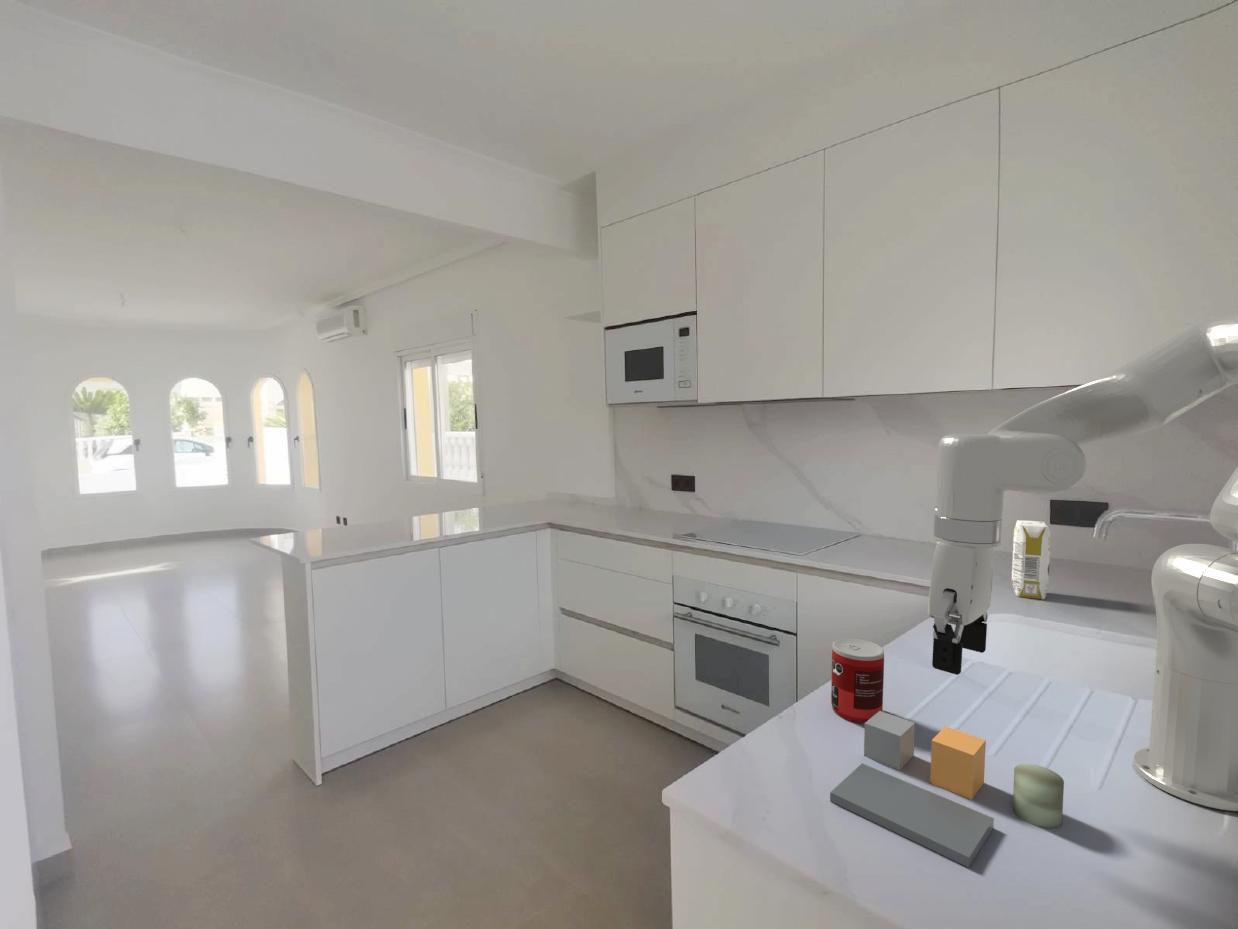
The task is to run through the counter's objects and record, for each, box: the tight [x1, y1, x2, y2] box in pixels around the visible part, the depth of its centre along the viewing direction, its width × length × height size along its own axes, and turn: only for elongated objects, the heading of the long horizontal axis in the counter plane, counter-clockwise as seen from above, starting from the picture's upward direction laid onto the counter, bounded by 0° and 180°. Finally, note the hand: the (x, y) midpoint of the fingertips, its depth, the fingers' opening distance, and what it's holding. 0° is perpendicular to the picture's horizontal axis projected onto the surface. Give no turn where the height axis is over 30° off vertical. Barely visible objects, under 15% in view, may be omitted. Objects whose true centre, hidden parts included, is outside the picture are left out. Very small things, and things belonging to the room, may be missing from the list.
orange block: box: [929, 726, 987, 801], centre depth 81 cm, size 5×5×6 cm
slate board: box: [829, 763, 995, 869], centre depth 76 cm, size 9×16×1 cm, turn 44°
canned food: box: [830, 638, 885, 724], centre depth 100 cm, size 8×8×11 cm
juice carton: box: [1011, 519, 1052, 600], centre depth 160 cm, size 8×9×19 cm
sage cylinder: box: [1012, 763, 1065, 829], centre depth 75 cm, size 5×5×5 cm
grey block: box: [863, 710, 916, 771], centre depth 88 cm, size 5×5×5 cm
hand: (959, 659), depth 80 cm, fingers open, 9 cm apart
